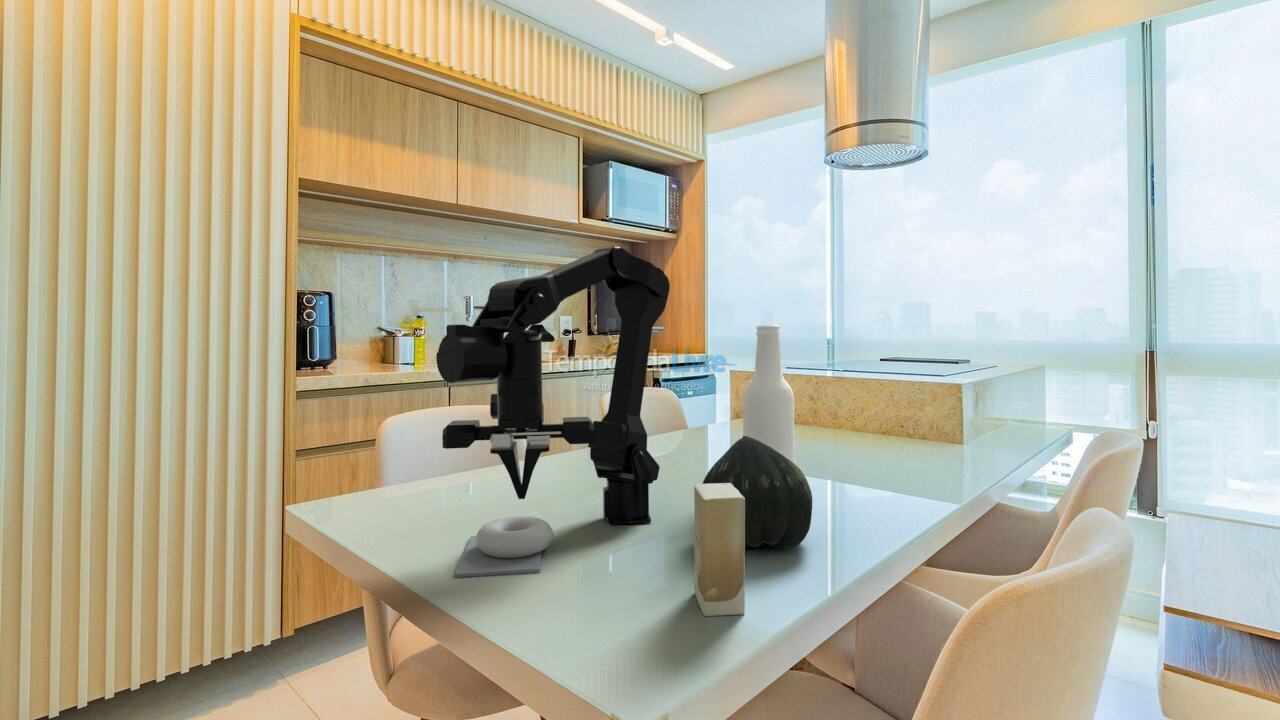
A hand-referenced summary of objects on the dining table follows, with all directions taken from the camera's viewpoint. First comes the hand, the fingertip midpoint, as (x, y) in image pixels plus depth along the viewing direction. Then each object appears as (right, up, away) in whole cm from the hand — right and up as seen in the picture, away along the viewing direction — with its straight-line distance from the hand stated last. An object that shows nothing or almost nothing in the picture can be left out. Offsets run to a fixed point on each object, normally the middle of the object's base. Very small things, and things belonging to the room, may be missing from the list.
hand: (521, 498), depth 80 cm
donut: (+3, -5, 0) cm, 6 cm away
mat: (-3, -8, +1) cm, 8 cm away
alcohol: (+38, -6, +29) cm, 48 cm away
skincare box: (+24, -8, -15) cm, 29 cm away
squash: (+31, -7, +5) cm, 32 cm away
